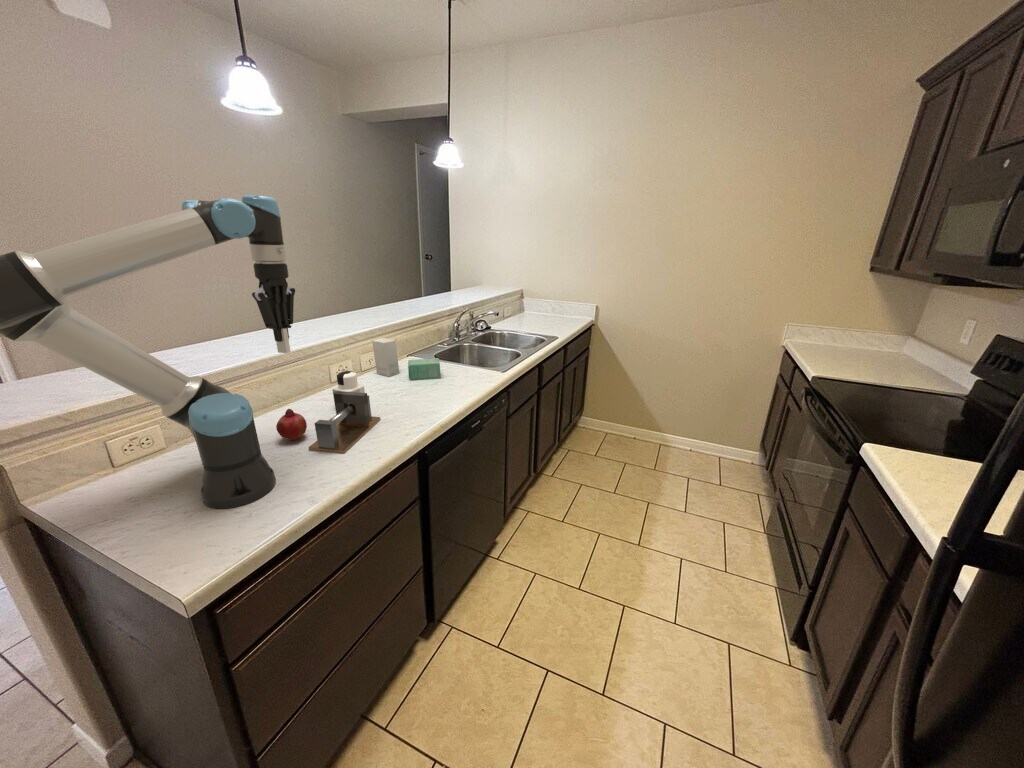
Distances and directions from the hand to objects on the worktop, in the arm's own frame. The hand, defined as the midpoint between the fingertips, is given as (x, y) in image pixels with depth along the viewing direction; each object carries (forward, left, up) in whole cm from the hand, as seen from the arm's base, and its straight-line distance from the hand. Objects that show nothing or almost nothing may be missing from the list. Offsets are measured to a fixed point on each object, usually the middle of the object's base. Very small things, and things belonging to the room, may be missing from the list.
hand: (284, 352), depth 112 cm
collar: (+13, -10, -27) cm, 31 cm away
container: (+29, 0, -29) cm, 41 cm away
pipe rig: (+9, -10, -29) cm, 31 cm away
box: (+65, -14, -29) cm, 72 cm away
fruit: (+3, +4, -29) cm, 29 cm away
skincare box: (+66, +3, -29) cm, 72 cm away
